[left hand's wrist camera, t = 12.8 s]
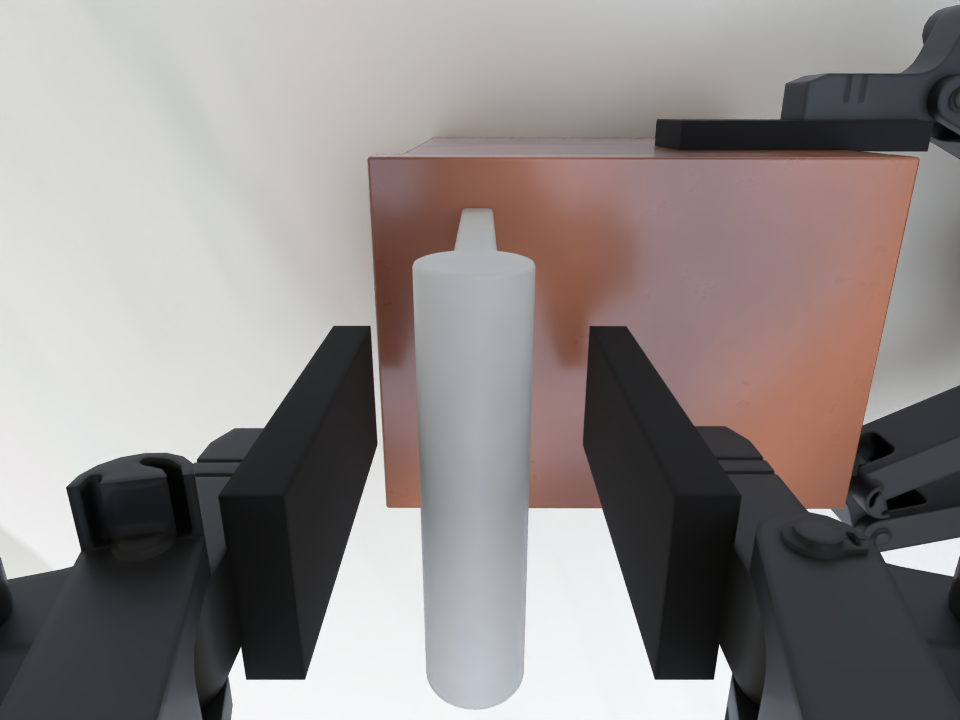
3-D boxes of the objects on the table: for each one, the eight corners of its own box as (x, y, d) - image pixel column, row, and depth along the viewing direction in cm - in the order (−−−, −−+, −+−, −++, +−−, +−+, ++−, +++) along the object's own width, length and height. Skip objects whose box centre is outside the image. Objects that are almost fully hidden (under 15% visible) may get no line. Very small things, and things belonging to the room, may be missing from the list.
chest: (436, 359, 29) (412, 487, 19) (430, 137, 26) (399, 154, 16) (708, 360, 29) (825, 488, 19) (736, 137, 26) (892, 154, 16)
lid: (391, 488, 19) (326, 754, 11) (374, 154, 16) (267, 195, 8) (826, 489, 19) (1071, 757, 11) (893, 154, 16) (1300, 197, 8)
